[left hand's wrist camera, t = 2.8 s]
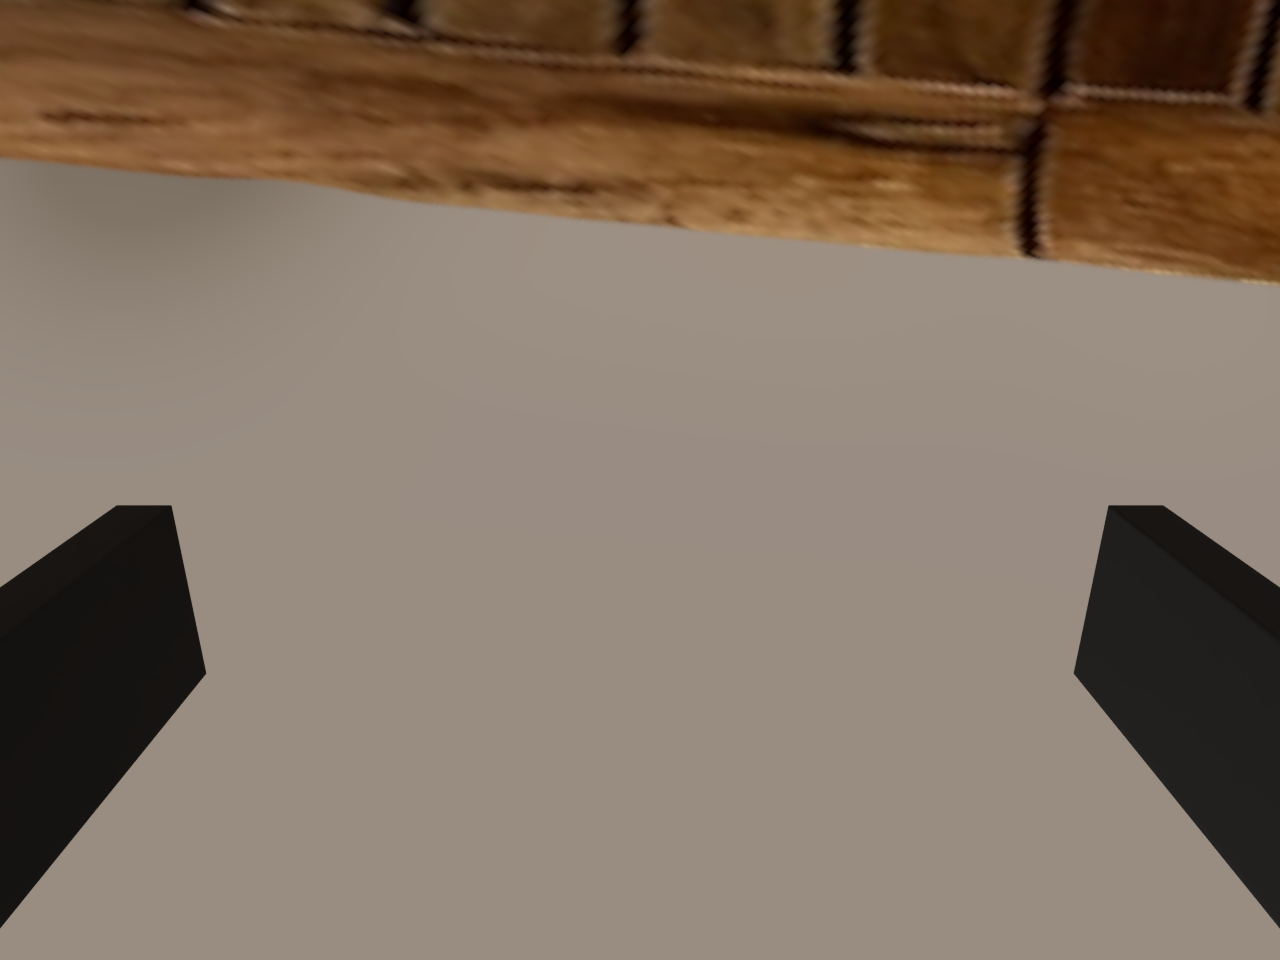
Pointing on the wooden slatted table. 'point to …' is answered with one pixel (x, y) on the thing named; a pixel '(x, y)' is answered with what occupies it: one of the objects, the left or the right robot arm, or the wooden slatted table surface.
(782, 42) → the wooden slatted table surface
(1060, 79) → the wooden slatted table surface
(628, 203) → the wooden slatted table surface
